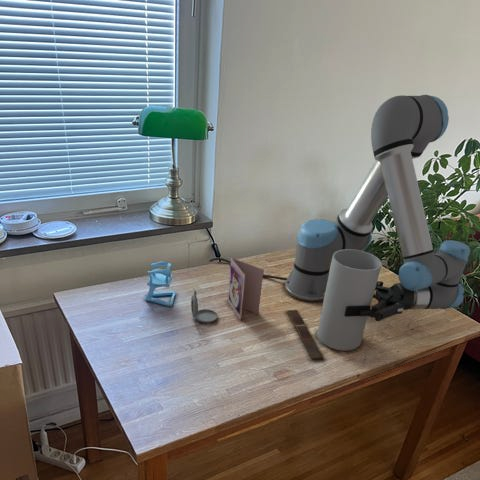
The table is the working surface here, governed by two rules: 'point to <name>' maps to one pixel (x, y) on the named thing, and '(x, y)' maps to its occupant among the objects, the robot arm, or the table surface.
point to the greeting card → (244, 287)
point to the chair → (160, 283)
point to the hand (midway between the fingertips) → (336, 298)
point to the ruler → (305, 335)
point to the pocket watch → (201, 311)
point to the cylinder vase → (347, 298)
